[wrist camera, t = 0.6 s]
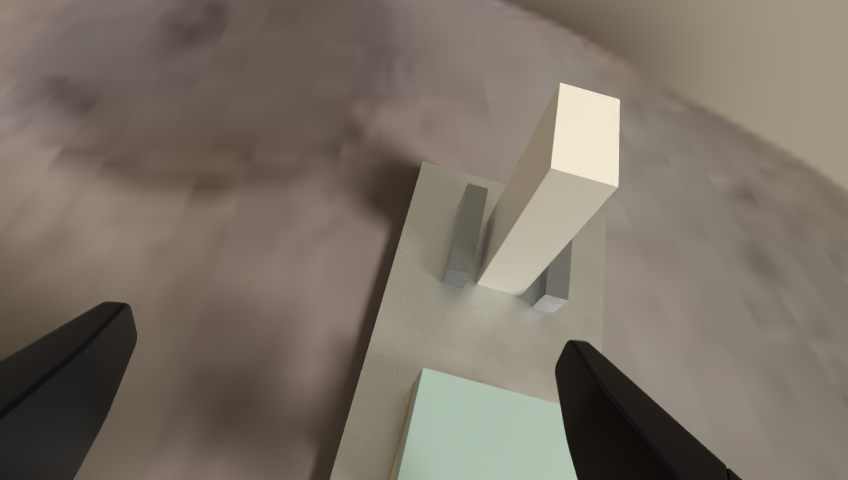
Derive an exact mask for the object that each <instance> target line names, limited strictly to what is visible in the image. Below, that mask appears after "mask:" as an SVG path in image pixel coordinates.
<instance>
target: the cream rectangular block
mask: <svg viewBox="0 0 848 480" xmlns="http://www.w3.org/2000/svg"><path fill="white" fill-rule="evenodd" d="M619 106H620V100H619V99H616V98H612V97H609V96H605V95H602V94H598V93H595V92H591V91H588V90H584V89H581V88H577V87H574V86H570V85H567V84H563V83H560V84H559V86H558V88H557V90H556V92H555V93H554V95H553V97H552V99H551V101H550V103H549V105H548V107H547V109H546V111H545V112H544V114H543V116H542V118H541V120H540V122H539V124H538V126H537V128H536V130H535V131H534V133H533V135H532V137H531V139H530V141H529V143H528V145H527V147H526V149H525V150H524V152H523V154H522V156H521V158H520V160H519V162H518V164H517V166H516V168H515V169H514V171H513V173H512V175H511V177H510V179H509V181H508V183H507V185H506V187H505V188H504V190H503V192H502V194H501V196H500V198H499V200H498V202H497V204H496V206H495V207H494V209H493V211H492V213H491V215H490V217H489V221H488V227H487V232H486V238H485V243H484V248H483V254H482V259H481V265H480V270H479V276H478V281H477V284H478V285H482V286H485V287H489V288H493V289H496V290H500V291H504V292H507V293H511V294H514V295H518V296H521V295H522V294H523V293H524V292H525V291H526V289H527V288H528V287H529V286H530V285H531V284H532V283H533V282H534V281H535V279H536V278H537V277H538V276H539V275H540V274H541V273H542V272H543V270H544V269H545V268H546V267H547V266H548V265H549V264H550V263H551V262H552V260H553V259H554V258H555V257H556V256H557V255H558V254H559V253H560V251H561V250H562V249H563V248H564V247H565V246H566V245H567V244H568V243H569V241H570V240H571V239H572V238H573V237H574V236H575V235H576V234H577V233H578V231H579V230H580V229H581V228H582V227H583V226H584V225H585V224H586V222H587V221H588V220H589V219H590V218H591V217H592V216H593V215H594V214H595V212H596V211H597V210H598V209H599V208H600V207H601V206H602V205H603V203H604V202H605V201H606V200H607V199H608V198H609V197H610V196H611V195H612V193H613V192H614V191H615V190H616V189H617V188H618V169H619Z"/></svg>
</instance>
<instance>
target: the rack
mask: <svg viewBox="0 0 848 480" xmlns="http://www.w3.org/2000/svg"><path fill="white" fill-rule="evenodd" d="M505 187H506V184H502V183H498V182H495V181H491V180H488V179H484V178H480V177H477V176H473V175H470V174H466V173H463V172H459V171H455V170H452V169H448V168H445V167H441V166H437V165H434V164H430V163H427V162H423V163H422V166H421V170H420V173H419V176H418V180H417V183H416V187H415V190H414V193H413V197H412V200H411V204H410V207H409V210H408V214H407V217H406V221H405V224H404V227H403V231H402V234H401V238H400V241H399V245H398V248H397V251H396V255H395V258H394V262H393V265H392V268H391V272H390V275H389V279H388V282H387V285H386V289H385V292H384V296H383V299H382V303H381V306H380V309H379V313H378V316H377V320H376V323H375V326H374V330H373V333H372V337H371V340H370V343H369V347H368V350H367V354H366V357H365V360H364V364H363V367H362V371H361V374H360V378H359V381H358V384H357V388H356V391H355V395H354V398H353V401H352V405H351V408H350V412H349V415H348V418H347V422H346V425H345V429H344V432H343V435H342V439H341V442H340V446H339V449H338V453H337V456H336V459H335V463H334V466H333V470H332V473H331V476H330V480H389V478H390V473H391V469H392V465H393V461H394V456H395V452H396V448H397V444H398V439H399V435H400V431H401V427H402V422H403V418H404V414H405V410H406V405H407V401H408V397H409V393H410V388H411V386H412V384H413V383H414V381H415V380H416V378H417V376H418V375H419V373H420V372H421V370H422V368H427V369H431V370H434V371H438V372H442V373H446V374H449V375H453V376H457V377H460V378H464V379H468V380H472V381H475V382H479V383H483V384H486V385H490V386H494V387H498V388H501V389H505V390H509V391H512V392H516V393H520V394H524V395H527V396H531V397H535V398H538V399H542V400H546V401H550V402H553V403H557V404H560V401H559V396H558V390H557V384H556V378H555V366H556V363H557V361H558V359H559V357H560V354H561V352H562V350H563V348H564V346H565V344H566V342H567V341H569V340H583V341H587V342H589V343H590V344H591V345H592V346H593V347H595V348H596V349H597V350H598V351H599V352H600V353H601V354H602V330H603V298H604V266H605V234H606V212H602V211H599V210H597V211H596V212H595V214H594V215H593V216H592V217H591V218H590V219H589V220H588V221H587V222H586V224H585V225H584V226H583V227H582V228H581V229H580V230H579V231H578V233H577V234H576V235H575V236H574V237H573V238H572V239H571V240H570V241H569V243H568V244H567V245H566V246H565V247H564V248H563V249H562V250H561V251H560V253H559V254H558V255H557V256H556V257H555V258H554V259H553V260H552V262H551V263H550V264H549V265H548V266H547V267H546V268H545V269H544V270H543V272H542V273H541V274H540V275H539V276H538V277H537V278H536V279H535V281H534V282H533V283H532V284H531V285H530V286H529V287H528V288H527V289H526V291H525V292H524V293H523V294H522V295H521V296H518V295H514V294H511V293H507V292H504V291H500V290H496V289H493V288H489V287H485V286H482V285H478V284H477V281H478V276H479V270H480V265H481V259H482V254H483V248H484V243H485V238H486V232H487V227H488V221H489V217H490V215H491V213H492V211H493V209H494V207H495V206H496V204H497V202H498V200H499V198H500V196H501V194H502V192H503V190H504V188H505Z"/></svg>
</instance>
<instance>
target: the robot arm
mask: <svg viewBox="0 0 848 480" xmlns="http://www.w3.org/2000/svg"><path fill="white" fill-rule="evenodd" d="M136 341H137V331H136V327H135V323H134V318H133V314H132V310H131V307H130V306H129V304H127V303H121V302H109V301H108V302H103V303H101V304H99V305H97V306H95V307H94V308H92V309H90V310H88V311H87V312H85V313H83V314H81V315H80V316H78V317H76V318H74V319H73V320H71V321H69V322H67V323H66V324H64V325H62V326H60V327H59V328H57V329H55V330H53V331H52V332H50V333H48V334H46V335H45V336H43V337H41V338H39V339H37V340H36V341H34V342H32V343H30V344H29V345H27V346H25V347H23V348H22V349H20V350H18V351H16V352H15V353H13V354H11V355H9V356H8V357H6V358H4V359H2V360H1V361H0V480H73V479H74V477H75V476H76V474H77V472H78V470H79V468H80V466H81V464H82V462H83V461H84V459H85V457H86V455H87V453H88V451H89V449H90V448H91V446H92V444H93V442H94V440H95V438H96V436H97V435H98V433H99V431H100V429H101V427H102V425H103V423H104V421H105V419H106V417H107V415H108V412H109V410H110V408H111V405H112V403H113V400H114V398H115V395H116V393H117V390H118V388H119V385H120V383H121V380H122V378H123V375H124V373H125V370H126V368H127V365H128V363H129V360H130V358H131V355H132V353H133V350H134V348H135V345H136ZM555 378H556V384H557V390H558V396H559V401H560V407H561V413H562V419H563V425H564V430H565V435H566V440H567V444H568V448H569V452H570V455H571V459H572V462H573V466H574V469H575V473H576V476H577V480H742V479H741V478H740V477H738V476H737V475H736V474H735V473H734V472H733V471H732V470H731V469H727V468H726V465H725V464H724V463H723V462H722V461H720V460H719V459H718V458H717V457H716V456H715V455H714V454H713V453H712V452H710V451H709V450H708V449H707V448H706V447H705V446H704V445H703V444H701V443H700V442H699V441H698V440H697V439H696V438H695V437H694V436H693V435H691V434H690V433H689V432H688V431H687V430H686V429H685V428H684V427H683V426H681V425H680V424H679V423H678V422H677V421H676V420H675V419H674V418H673V417H671V416H670V415H669V414H668V413H667V412H666V411H665V410H664V409H662V408H661V407H660V406H659V405H658V404H657V403H656V402H655V401H654V400H652V399H651V398H650V397H649V396H648V395H647V394H646V393H645V392H644V391H642V390H641V389H640V388H639V387H638V386H637V385H636V384H635V383H634V382H632V381H631V380H630V379H629V378H628V377H627V376H626V375H625V374H623V373H622V372H621V371H620V370H619V369H618V368H617V367H616V366H615V365H613V364H612V363H611V362H610V361H609V360H608V359H607V358H606V357H605V356H603V355H602V354H601V353H600V352H599V351H598V350H597V349H596V348H595V347H593V346H592V345H591V344H590V343H589V342H587V341H583V340H569V341H567V342H566V344H565V346H564V348H563V350H562V352H561V354H560V357H559V359H558V361H557V363H556V366H555Z"/></svg>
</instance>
